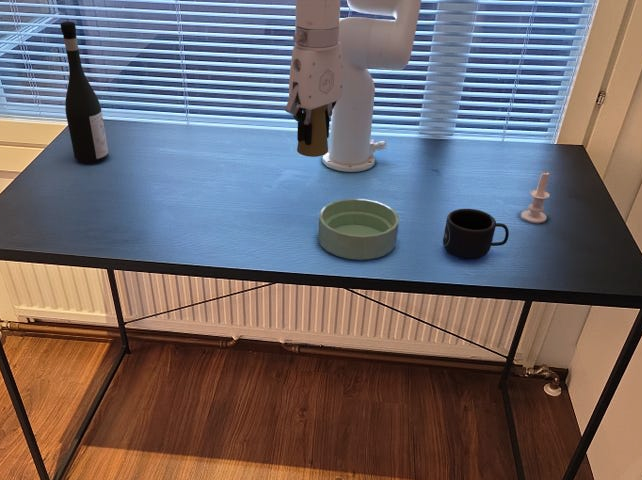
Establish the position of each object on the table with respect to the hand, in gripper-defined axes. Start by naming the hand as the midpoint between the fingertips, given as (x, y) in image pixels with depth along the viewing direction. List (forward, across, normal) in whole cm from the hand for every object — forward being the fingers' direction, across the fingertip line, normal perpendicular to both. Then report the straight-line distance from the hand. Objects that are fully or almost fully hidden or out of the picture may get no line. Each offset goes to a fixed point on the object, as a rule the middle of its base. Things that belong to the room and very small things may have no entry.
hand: (313, 138), depth 127 cm
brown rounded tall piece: (+2, 0, 0) cm, 2 cm away
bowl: (+17, 0, -13) cm, 21 cm away
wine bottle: (+17, -16, +57) cm, 62 cm away
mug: (+17, +13, -31) cm, 38 cm away
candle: (+17, +35, -32) cm, 50 cm away
